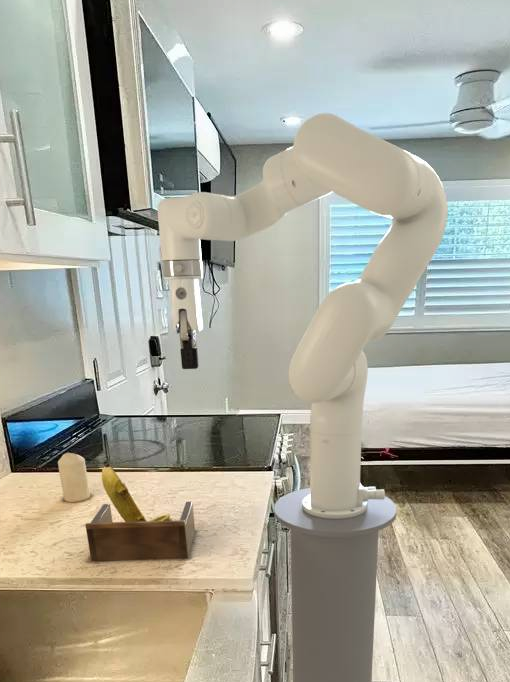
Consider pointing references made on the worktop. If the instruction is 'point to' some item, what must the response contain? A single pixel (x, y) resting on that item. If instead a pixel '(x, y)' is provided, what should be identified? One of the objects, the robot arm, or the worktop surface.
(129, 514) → the ripe yellow banana
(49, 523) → the worktop surface
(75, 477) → the candle
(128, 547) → the wooden u-shaped stand
